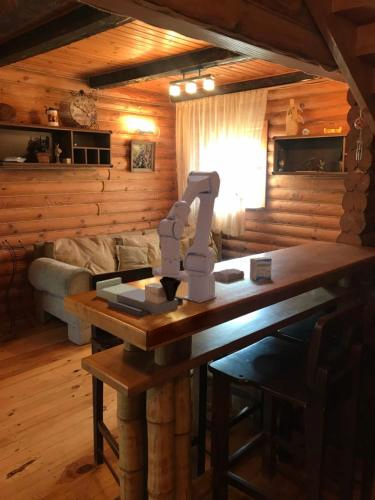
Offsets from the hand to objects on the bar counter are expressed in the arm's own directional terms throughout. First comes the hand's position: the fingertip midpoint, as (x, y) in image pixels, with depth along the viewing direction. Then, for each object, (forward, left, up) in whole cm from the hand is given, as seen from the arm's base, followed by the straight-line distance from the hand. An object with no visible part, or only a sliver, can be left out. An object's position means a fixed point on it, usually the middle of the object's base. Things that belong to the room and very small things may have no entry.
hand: (170, 300), depth 135 cm
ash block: (0, -6, -1) cm, 6 cm away
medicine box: (-56, -4, -4) cm, 57 cm away
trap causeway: (0, -17, -4) cm, 17 cm away
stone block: (-47, -14, -4) cm, 50 cm away
